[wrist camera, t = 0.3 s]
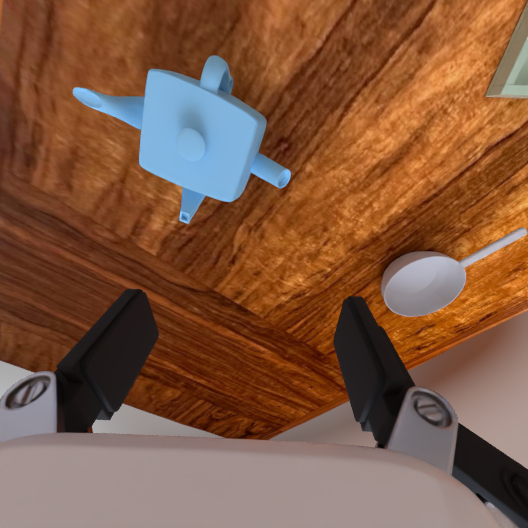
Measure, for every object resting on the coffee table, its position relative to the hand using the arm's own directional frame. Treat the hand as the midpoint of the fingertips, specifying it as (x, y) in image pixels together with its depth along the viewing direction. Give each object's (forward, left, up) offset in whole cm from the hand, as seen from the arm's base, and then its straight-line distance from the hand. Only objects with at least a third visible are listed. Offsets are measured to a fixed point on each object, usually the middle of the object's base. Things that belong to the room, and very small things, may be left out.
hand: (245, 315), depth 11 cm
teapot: (-6, -6, -22) cm, 23 cm away
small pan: (+8, +26, -22) cm, 35 cm away
